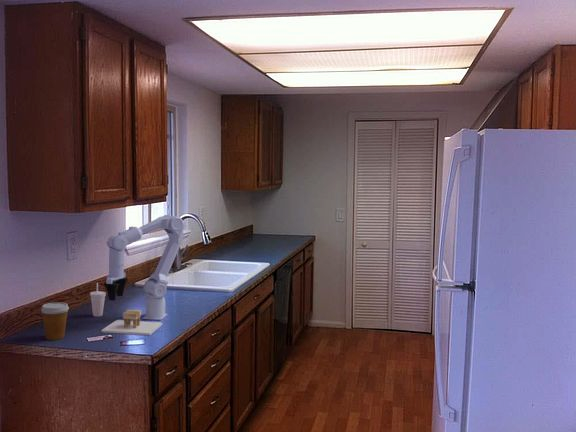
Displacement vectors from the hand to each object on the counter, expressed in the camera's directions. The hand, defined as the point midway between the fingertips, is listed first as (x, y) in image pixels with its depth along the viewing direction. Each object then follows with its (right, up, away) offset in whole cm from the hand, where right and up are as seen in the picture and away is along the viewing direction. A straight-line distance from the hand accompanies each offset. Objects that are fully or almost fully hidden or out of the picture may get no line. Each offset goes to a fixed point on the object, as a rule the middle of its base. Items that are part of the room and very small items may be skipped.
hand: (116, 298), depth 224 cm
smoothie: (-11, -9, +12) cm, 19 cm away
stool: (+8, -10, -5) cm, 14 cm away
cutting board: (+8, -11, -5) cm, 15 cm away
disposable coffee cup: (-16, -12, -20) cm, 28 cm away
